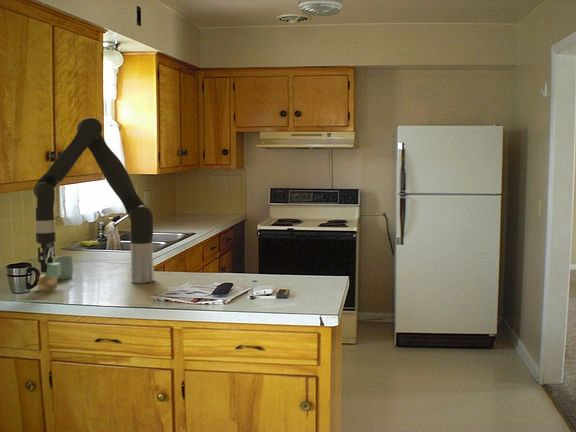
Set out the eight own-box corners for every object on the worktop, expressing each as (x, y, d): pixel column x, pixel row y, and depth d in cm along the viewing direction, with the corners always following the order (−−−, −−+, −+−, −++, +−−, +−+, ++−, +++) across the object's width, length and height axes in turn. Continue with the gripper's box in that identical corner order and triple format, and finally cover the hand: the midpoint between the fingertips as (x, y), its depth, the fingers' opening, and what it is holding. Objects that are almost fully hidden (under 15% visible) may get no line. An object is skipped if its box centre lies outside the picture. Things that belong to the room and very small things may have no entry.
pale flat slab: (75, 287, 282) (75, 284, 282) (69, 292, 272) (69, 290, 272) (37, 287, 281) (36, 285, 281) (29, 293, 271) (29, 290, 271)
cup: (54, 282, 292) (53, 259, 291) (55, 278, 300) (54, 256, 299) (73, 281, 295) (72, 258, 293) (74, 277, 302) (73, 255, 301)
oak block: (57, 286, 279) (57, 274, 279) (53, 289, 273) (52, 277, 273) (42, 286, 279) (42, 274, 278) (38, 289, 273) (37, 277, 273)
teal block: (61, 274, 278) (60, 262, 278) (57, 277, 273) (56, 264, 273) (48, 274, 278) (48, 262, 278) (44, 277, 273) (44, 264, 273)
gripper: (49, 233, 267) (51, 273, 269) (59, 228, 281) (61, 267, 283) (30, 233, 266) (32, 273, 268) (41, 228, 280) (43, 267, 282)
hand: (47, 270), depth 275 cm, fingers open, 8 cm apart
